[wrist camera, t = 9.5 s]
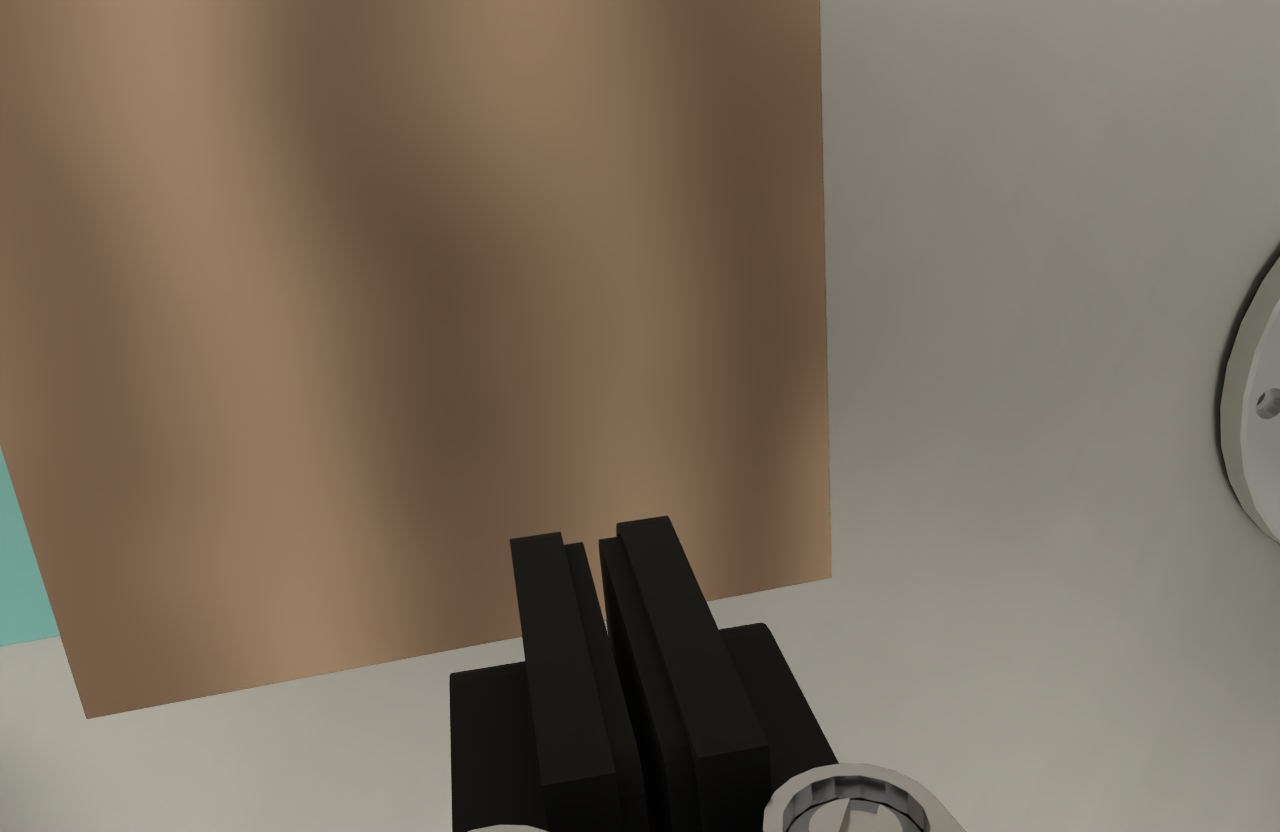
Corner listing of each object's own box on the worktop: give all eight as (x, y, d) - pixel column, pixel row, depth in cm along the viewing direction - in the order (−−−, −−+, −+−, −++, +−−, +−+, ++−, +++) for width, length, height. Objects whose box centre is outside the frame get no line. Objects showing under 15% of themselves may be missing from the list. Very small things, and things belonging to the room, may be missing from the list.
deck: (750, -85, 24) (817, -96, 21) (774, 503, 30) (831, 577, 26) (-61, -18, 22) (-147, -17, 18) (124, 618, 27) (87, 718, 23)
